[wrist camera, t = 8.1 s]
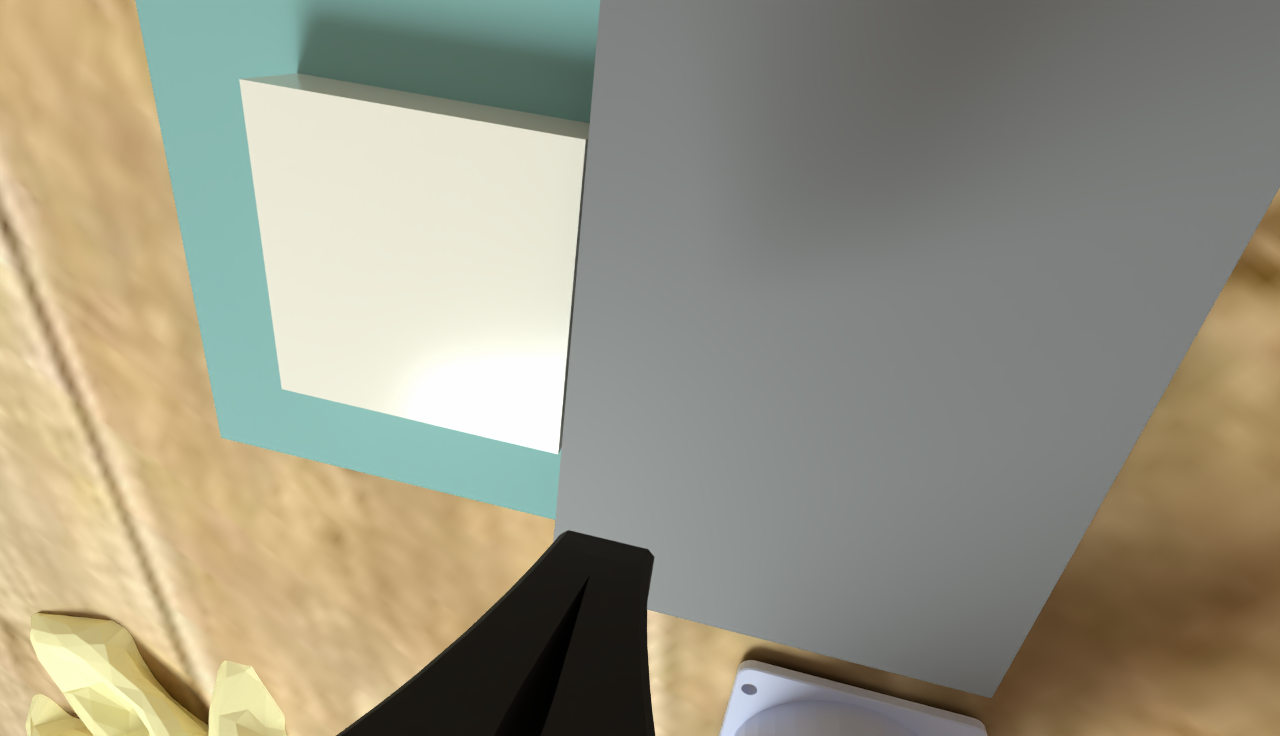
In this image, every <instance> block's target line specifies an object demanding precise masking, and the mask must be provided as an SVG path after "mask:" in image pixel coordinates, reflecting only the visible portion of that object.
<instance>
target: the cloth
mask: <svg viewBox="0 0 1280 736" xmlns="http://www.w3.org/2000/svg"><path fill="white" fill-rule="evenodd" d="M30 640H31V642H32V645H33V647H34V650H35V652H36V655H37V657H38V659H39V661H40V662H41V664H42V665H43V666H44V668H45V669H46V670H47V672H48V673H49V675H50V676H51V677H52V679H53V680H54V681H55V683H56V684H57V685H58V687H59V688H60V690H61V691H62V692H63V694H64V695H65V697H66V699H67V700H68V702H69V703H70V705H71V706H72V708H73V709H74V711H75V712H76V714H77V715H78V716H79V718H80V719H78V718H74V717H72V716H71V715H69V714H68V713H66V712H65V711H64V710H63V709H62V708H60V707H59V706H58V705H57V704H56V703H55V702H54V701H52V700H51V699H50V698H48V697H46V696H44V695H42V694H38V695H35V696H33V700H32V703H31V707H30V710H29V714H28V718H27V721H26V725H25V727H26V730H27V734H28V736H288V735H287V733H286V732H285V716H284V715H283V713H282V712H281V710H280V709H279V707H278V706H277V704H276V703H275V701H274V700H273V698H272V697H271V695H270V694H269V692H268V691H267V689H266V688H265V686H264V685H263V683H262V682H261V680H260V679H259V677H258V676H257V674H256V673H255V671H254V670H253V668H252V667H251V666H247V665H242V664H237V663H234V662H230V661H224V662H223V663H222V664H221V666H220V668H219V671H218V674H217V678H216V683H215V687H214V692H213V696H212V701H211V706H210V710H209V726H208V725H207V724H205V723H204V722H203V721H201V720H200V719H198V718H197V717H195V716H194V715H193V714H191V713H190V712H189V711H187V710H186V709H185V708H184V707H183V706H181V705H180V704H179V703H178V702H177V701H175V700H174V699H173V698H172V697H171V696H170V695H169V694H168V692H167V691H166V690H165V689H164V688H163V687H162V686H161V685H160V684H159V682H158V681H157V680H156V679H155V678H154V676H153V674H152V673H151V671H150V670H149V668H148V667H147V665H146V663H145V662H144V660H143V659H142V657H141V655H140V653H139V651H138V649H137V646H136V644H135V642H134V640H133V638H132V636H131V635H130V633H129V632H128V631H127V630H126V629H125V627H123V626H121V625H119V624H117V623H116V622H114V621H112V620H102V619H93V618H85V617H71V616H66V615H56V614H45V613H36V614H34V615H33V616H31V633H30Z"/></svg>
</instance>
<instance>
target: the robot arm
mask: <svg viewBox="0 0 1280 736" xmlns="http://www.w3.org/2000/svg"><path fill="white" fill-rule="evenodd" d="M654 558H655V557H654V556H653V554H652V553H651V552H650V551H649V549H646V548H641V547H637V546H633V545H629V544H625V543H620V542H616V541H612V540H608V539H604V538H600V537H595V536H591V535H587V534H583V533H579V532H574V531H570V530H567V531H565V532H564V533H562V534H560V535H559V536H558V538H557V539H556V540H555V541H554V542H553V544H552V545H551V546H550V547H549V548H548V549H547V550H546V552H545V553H544V554H543V555H542V556H541V557H540V558H539V559H538V560H537V562H536V563H535V564H534V565H533V566H532V567H531V568H530V569H529V570H528V571H527V572H526V573H525V574H524V575H523V576H522V577H521V578H520V579H519V580H518V582H517V583H516V584H515V585H514V586H513V587H512V588H511V589H510V590H509V591H508V592H507V593H506V594H505V595H504V596H503V597H502V598H501V599H500V600H498V601H497V602H496V603H495V604H494V605H493V606H492V607H491V608H490V609H489V610H488V611H487V612H486V613H485V614H484V615H483V616H482V617H481V618H480V619H479V620H478V621H477V622H475V623H474V624H473V625H472V626H471V627H470V628H469V629H468V630H467V631H466V632H465V633H464V634H463V635H461V636H460V637H459V638H458V639H457V640H456V641H455V642H453V643H452V644H451V645H450V646H449V647H448V648H446V649H445V650H444V651H443V652H442V653H441V654H439V655H438V656H437V657H436V658H435V659H434V660H432V661H431V662H430V663H429V664H428V665H427V666H425V667H424V668H423V669H422V670H421V671H420V672H419V673H417V674H416V675H415V676H414V677H413V678H411V679H410V680H409V681H408V682H406V683H405V684H404V685H403V686H401V687H400V688H399V689H398V690H396V691H395V692H394V693H393V694H391V695H390V696H389V697H387V698H386V699H385V700H384V701H382V702H381V703H380V704H378V705H377V706H376V707H374V708H373V709H372V710H370V711H369V712H368V713H366V714H365V715H364V716H362V717H361V718H360V719H358V720H357V721H356V722H354V723H353V724H352V725H350V726H349V727H347V728H346V729H345V730H343V731H342V732H341V733H339V734H338V735H336V736H655V730H654V722H653V714H652V704H651V694H650V681H649V666H648V650H647V601H648V595H649V589H650V583H651V576H652V570H653V564H654ZM748 684H752V685H748ZM719 736H987V732H986V728H985V726H984V724H983V723H982V722H981V721H980V720H977V719H975V718H972V717H968V716H965V715H961V714H957V713H953V712H949V711H946V710H942V709H938V708H934V707H930V706H927V705H923V704H919V703H915V702H911V701H908V700H904V699H900V698H896V697H892V696H889V695H885V694H881V693H877V692H873V691H870V690H866V689H862V688H858V687H854V686H850V685H847V684H843V683H839V682H835V681H831V680H828V679H824V678H820V677H816V676H812V675H809V674H805V673H801V672H797V671H793V670H790V669H786V668H782V667H778V666H774V665H771V664H767V663H763V662H759V661H755V660H747V661H744V662H742V663H740V665H739V666H738V669H737V673H736V676H735V680H734V683H733V687H732V690H731V694H730V697H729V701H728V704H727V708H726V711H725V715H724V718H723V722H722V725H721V729H720V732H719Z"/></svg>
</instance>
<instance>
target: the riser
mask: <svg viewBox="0 0 1280 736" xmlns="http://www.w3.org/2000/svg"><path fill="white" fill-rule="evenodd" d="M1279 188H1280V0H600V10H599V21H598V33H597V44H596V56H595V67H594V79H593V91H592V102H591V114H590V125H589V137H588V148H587V160H586V171H585V183H584V195H583V206H582V218H581V229H580V241H579V252H578V264H577V276H576V287H575V299H574V310H573V322H572V333H571V345H570V356H569V368H568V380H567V391H566V403H565V414H564V426H563V437H562V449H561V461H560V472H559V484H558V495H557V507H556V518H555V530H554V541H555V540H556V539H557V538H558V536H559V535H560V534H562V533H564V532H565V531H567V530H570V531H574V532H579V533H583V534H587V535H591V536H595V537H600V538H604V539H608V540H612V541H616V542H620V543H625V544H629V545H633V546H637V547H641V548H646V549H649V551H650V552H651V553H652V554H653V556H654V557H655V558H654V564H653V570H652V576H651V583H650V589H649V595H648V601H647V609H648V610H651V611H655V612H659V613H663V614H667V615H671V616H675V617H678V618H682V619H686V620H690V621H694V622H698V623H702V624H705V625H709V626H713V627H717V628H721V629H725V630H729V631H733V632H736V633H740V634H744V635H748V636H752V637H756V638H760V639H763V640H767V641H771V642H775V643H779V644H783V645H787V646H791V647H794V648H798V649H802V650H806V651H810V652H814V653H818V654H821V655H825V656H829V657H833V658H837V659H841V660H845V661H849V662H852V663H856V664H860V665H864V666H868V667H872V668H876V669H879V670H883V671H887V672H891V673H895V674H899V675H903V676H907V677H910V678H914V679H918V680H922V681H926V682H930V683H934V684H937V685H941V686H945V687H949V688H953V689H957V690H961V691H965V692H968V693H972V694H976V695H980V696H984V697H988V698H992V697H993V695H994V693H995V691H996V690H997V688H998V686H999V684H1000V683H1001V681H1002V679H1003V677H1004V675H1005V674H1006V672H1007V670H1008V668H1009V667H1010V665H1011V663H1012V661H1013V660H1014V658H1015V656H1016V654H1017V652H1018V651H1019V649H1020V647H1021V645H1022V644H1023V642H1024V640H1025V638H1026V636H1027V635H1028V633H1029V631H1030V629H1031V628H1032V626H1033V624H1034V622H1035V620H1036V619H1037V617H1038V615H1039V613H1040V612H1041V610H1042V608H1043V606H1044V605H1045V603H1046V601H1047V599H1048V597H1049V596H1050V594H1051V592H1052V590H1053V589H1054V587H1055V585H1056V583H1057V581H1058V580H1059V578H1060V576H1061V574H1062V573H1063V571H1064V569H1065V567H1066V566H1067V564H1068V562H1069V560H1070V558H1071V557H1072V555H1073V553H1074V551H1075V550H1076V548H1077V546H1078V544H1079V542H1080V541H1081V539H1082V537H1083V535H1084V534H1085V532H1086V530H1087V528H1088V526H1089V525H1090V523H1091V521H1092V519H1093V518H1094V516H1095V514H1096V512H1097V511H1098V509H1099V507H1100V505H1101V503H1102V502H1103V500H1104V498H1105V496H1106V495H1107V493H1108V491H1109V489H1110V487H1111V486H1112V484H1113V482H1114V480H1115V479H1116V477H1117V475H1118V473H1119V472H1120V470H1121V468H1122V466H1123V464H1124V463H1125V461H1126V459H1127V457H1128V456H1129V454H1130V452H1131V450H1132V448H1133V447H1134V445H1135V443H1136V441H1137V440H1138V438H1139V436H1140V434H1141V432H1142V431H1143V429H1144V427H1145V425H1146V424H1147V422H1148V420H1149V418H1150V417H1151V415H1152V413H1153V411H1154V409H1155V408H1156V406H1157V404H1158V402H1159V401H1160V399H1161V397H1162V395H1163V393H1164V392H1165V390H1166V388H1167V386H1168V385H1169V383H1170V381H1171V379H1172V377H1173V376H1174V374H1175V372H1176V370H1177V369H1178V367H1179V365H1180V363H1181V362H1182V360H1183V358H1184V356H1185V354H1186V353H1187V351H1188V349H1189V347H1190V346H1191V344H1192V342H1193V340H1194V338H1195V337H1196V335H1197V333H1198V331H1199V330H1200V328H1201V326H1202V324H1203V323H1204V321H1205V319H1206V317H1207V315H1208V314H1209V312H1210V310H1211V308H1212V307H1213V305H1214V303H1215V301H1216V299H1217V298H1218V296H1219V294H1220V292H1221V291H1222V289H1223V287H1224V285H1225V283H1226V282H1227V280H1228V278H1229V276H1230V275H1231V273H1232V271H1233V269H1234V268H1235V266H1236V264H1237V262H1238V260H1239V259H1240V257H1241V255H1242V253H1243V252H1244V250H1245V248H1246V246H1247V244H1248V243H1249V241H1250V239H1251V237H1252V236H1253V234H1254V232H1255V230H1256V228H1257V227H1258V225H1259V223H1260V221H1261V220H1262V218H1263V216H1264V214H1265V213H1266V211H1267V209H1268V207H1269V205H1270V204H1271V202H1272V200H1273V198H1274V197H1275V195H1276V193H1277V191H1278V189H1279Z"/></svg>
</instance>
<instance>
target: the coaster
mask: <svg viewBox="0 0 1280 736" xmlns="http://www.w3.org/2000/svg"><path fill="white" fill-rule="evenodd" d="M239 82H240V89H241V96H242V103H243V111H244V118H245V125H246V133H247V140H248V147H249V154H250V162H251V169H252V176H253V184H254V191H255V198H256V205H257V213H258V220H259V227H260V235H261V242H262V249H263V256H264V264H265V271H266V278H267V285H268V293H269V300H270V307H271V315H272V322H273V329H274V336H275V344H276V351H277V358H278V366H279V373H280V380H281V387H282V389H284V390H288V391H292V392H296V393H301V394H305V395H309V396H313V397H318V398H322V399H326V400H330V401H334V402H339V403H343V404H347V405H351V406H356V407H360V408H364V409H368V410H373V411H377V412H381V413H385V414H390V415H394V416H398V417H402V418H407V419H411V420H415V421H419V422H424V423H428V424H432V425H436V426H441V427H445V428H449V429H453V430H457V431H462V432H466V433H470V434H474V435H479V436H483V437H487V438H491V439H496V440H500V441H504V442H508V443H513V444H517V445H521V446H525V447H530V448H534V449H538V450H542V451H547V452H551V453H555V454H559V452H560V450H561V448H562V437H563V426H564V414H565V403H566V391H567V380H568V368H569V356H570V345H571V333H572V322H573V310H574V299H575V287H576V276H577V264H578V252H579V241H580V229H581V218H582V206H583V195H584V183H585V171H586V160H587V148H588V137H589V125H590V123H585V122H579V121H574V120H568V119H562V118H556V117H550V116H544V115H539V114H533V113H527V112H521V111H515V110H509V109H504V108H498V107H492V106H486V105H480V104H474V103H469V102H463V101H457V100H451V99H445V98H439V97H434V96H428V95H422V94H416V93H410V92H404V91H399V90H393V89H387V88H381V87H375V86H369V85H364V84H358V83H352V82H346V81H340V80H334V79H329V78H323V77H317V76H311V75H305V74H299V73H293V74H284V75H274V76H265V77H255V78H245V79H239Z"/></svg>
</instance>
